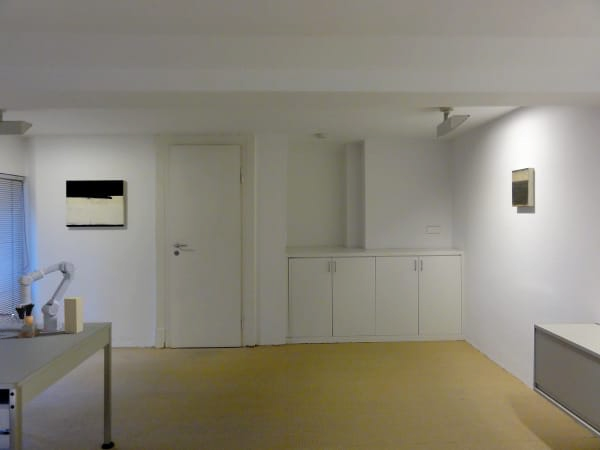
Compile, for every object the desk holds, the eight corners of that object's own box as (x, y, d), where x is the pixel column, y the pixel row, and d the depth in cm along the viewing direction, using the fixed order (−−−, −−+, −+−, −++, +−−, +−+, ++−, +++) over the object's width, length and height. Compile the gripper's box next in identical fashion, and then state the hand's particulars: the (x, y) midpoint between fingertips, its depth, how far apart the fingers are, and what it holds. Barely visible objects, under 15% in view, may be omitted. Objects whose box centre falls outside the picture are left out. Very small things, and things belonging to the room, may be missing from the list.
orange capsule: (35, 324, 261) (34, 315, 261) (31, 325, 257) (30, 317, 256) (27, 324, 261) (27, 316, 260) (23, 326, 256) (23, 317, 256)
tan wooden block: (84, 330, 270) (83, 296, 269) (77, 333, 262) (75, 298, 262) (72, 330, 270) (71, 296, 270) (64, 333, 263) (63, 298, 263)
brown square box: (39, 334, 263) (39, 328, 263) (32, 338, 255) (32, 332, 255) (25, 335, 263) (25, 329, 263) (18, 338, 255) (18, 332, 255)
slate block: (37, 329, 263) (37, 323, 262) (32, 331, 257) (32, 325, 256) (27, 329, 262) (26, 323, 262) (21, 332, 256) (21, 326, 256)
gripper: (24, 293, 268) (24, 315, 268) (11, 297, 254) (11, 320, 254) (36, 293, 269) (36, 315, 269) (24, 297, 255) (24, 320, 254)
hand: (25, 317), depth 261 cm, fingers open, 7 cm apart
